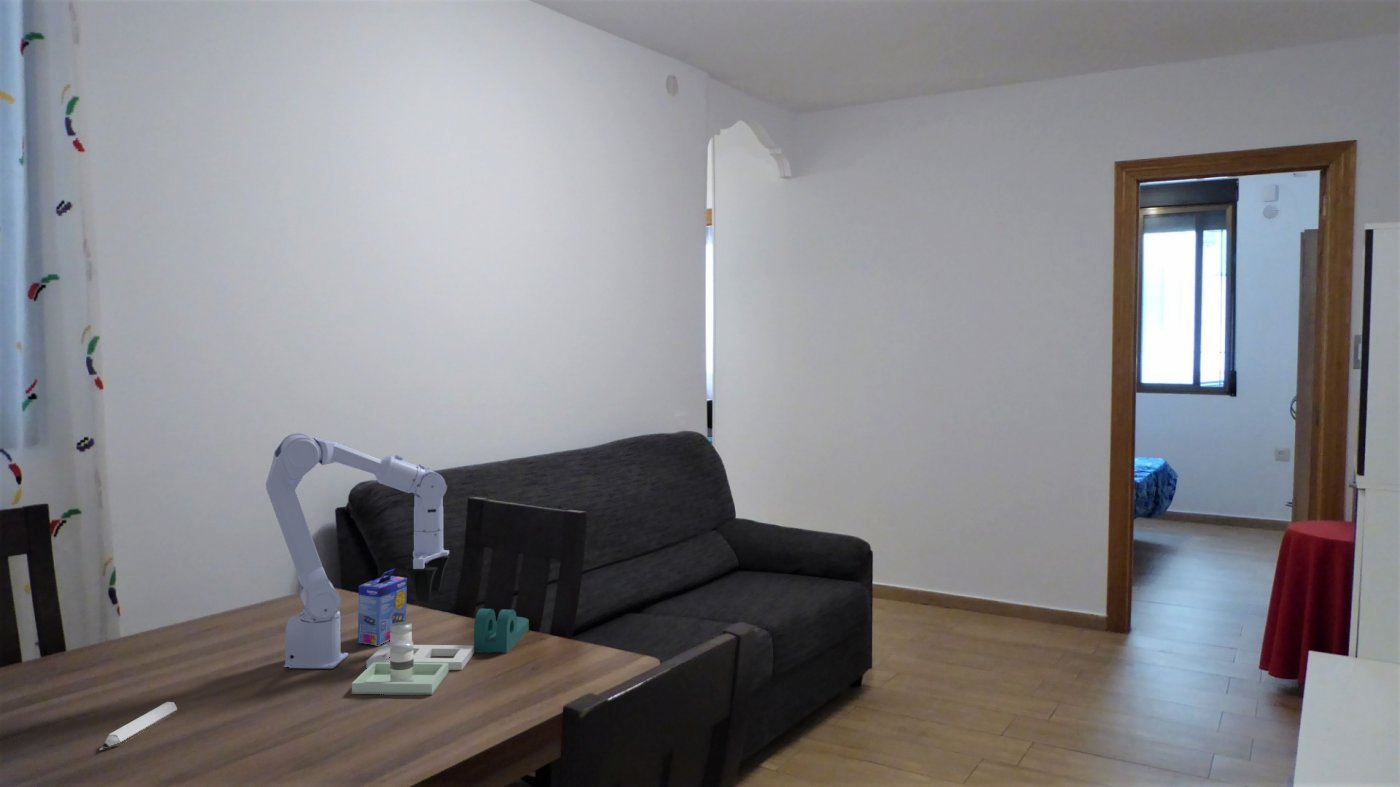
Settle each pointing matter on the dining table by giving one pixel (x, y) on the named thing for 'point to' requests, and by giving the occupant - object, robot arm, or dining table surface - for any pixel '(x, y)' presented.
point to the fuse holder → (430, 655)
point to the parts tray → (379, 682)
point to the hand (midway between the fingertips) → (428, 596)
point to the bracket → (498, 630)
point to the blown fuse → (401, 661)
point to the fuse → (400, 631)
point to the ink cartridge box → (381, 607)
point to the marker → (139, 724)
